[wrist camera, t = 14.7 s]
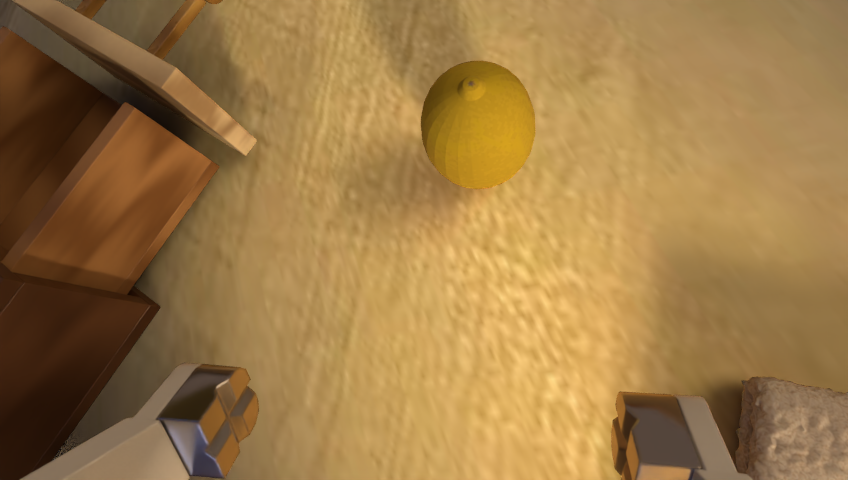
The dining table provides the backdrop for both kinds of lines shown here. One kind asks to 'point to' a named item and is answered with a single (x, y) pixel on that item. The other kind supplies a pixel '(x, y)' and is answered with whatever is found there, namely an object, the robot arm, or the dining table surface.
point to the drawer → (97, 151)
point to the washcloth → (792, 431)
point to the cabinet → (57, 360)
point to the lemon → (478, 124)
